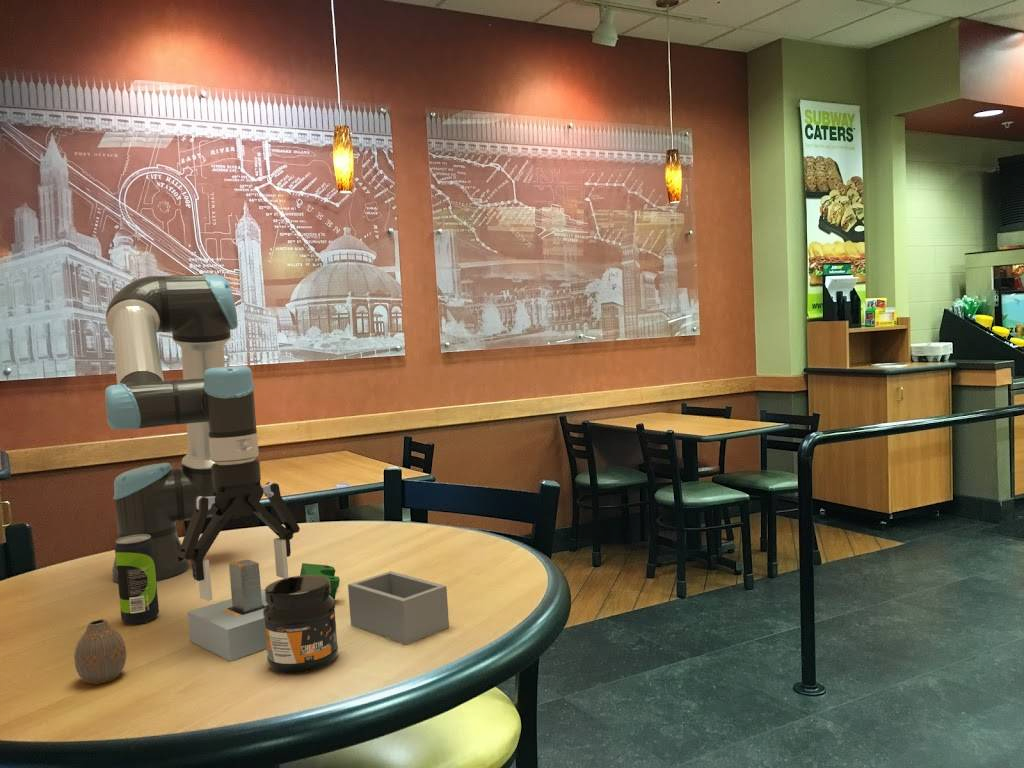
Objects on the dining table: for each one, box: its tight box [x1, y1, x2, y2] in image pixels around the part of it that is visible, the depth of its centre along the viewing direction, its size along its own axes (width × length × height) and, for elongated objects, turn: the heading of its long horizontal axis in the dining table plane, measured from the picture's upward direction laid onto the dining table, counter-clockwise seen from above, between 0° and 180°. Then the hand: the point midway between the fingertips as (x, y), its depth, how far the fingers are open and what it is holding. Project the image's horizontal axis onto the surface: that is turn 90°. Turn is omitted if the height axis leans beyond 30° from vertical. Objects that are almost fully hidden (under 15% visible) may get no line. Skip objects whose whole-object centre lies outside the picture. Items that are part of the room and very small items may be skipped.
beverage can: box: [114, 534, 160, 626], centre depth 147 cm, size 6×6×15 cm
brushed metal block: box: [228, 558, 262, 615], centre depth 135 cm, size 4×3×12 cm
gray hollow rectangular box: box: [347, 570, 450, 646], centre depth 136 cm, size 15×9×7 cm, turn 46°
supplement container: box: [263, 575, 339, 675], centre depth 123 cm, size 10×10×12 cm
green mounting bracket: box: [299, 562, 341, 601], centre depth 153 cm, size 12×6×9 cm, turn 14°
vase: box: [73, 618, 127, 685], centre depth 121 cm, size 7×7×9 cm
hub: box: [187, 588, 267, 662], centre depth 135 cm, size 14×14×5 cm
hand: (245, 587), depth 135 cm, fingers open, 13 cm apart
